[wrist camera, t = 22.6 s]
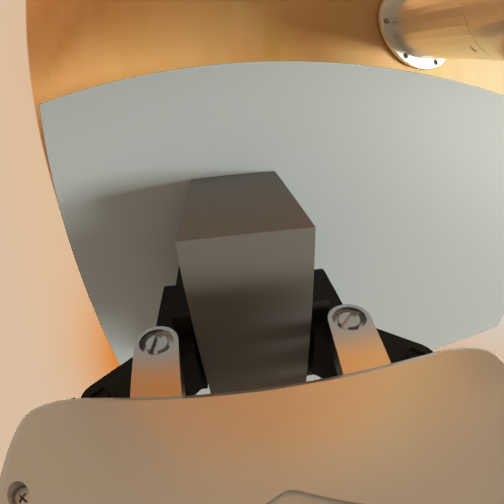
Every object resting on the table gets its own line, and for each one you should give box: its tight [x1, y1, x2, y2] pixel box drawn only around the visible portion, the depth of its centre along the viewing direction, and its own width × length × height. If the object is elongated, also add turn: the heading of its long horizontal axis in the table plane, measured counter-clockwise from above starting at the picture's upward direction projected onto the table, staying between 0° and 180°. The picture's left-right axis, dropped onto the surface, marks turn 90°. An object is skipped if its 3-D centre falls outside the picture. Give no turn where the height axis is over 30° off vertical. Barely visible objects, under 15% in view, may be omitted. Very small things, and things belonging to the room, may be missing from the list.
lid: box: [39, 61, 504, 394], centre depth 12 cm, size 26×16×8 cm, turn 94°
